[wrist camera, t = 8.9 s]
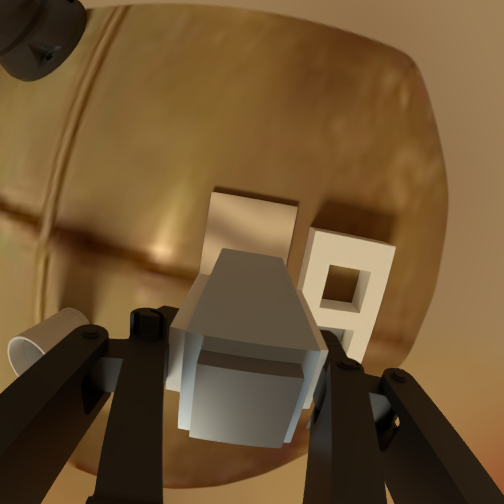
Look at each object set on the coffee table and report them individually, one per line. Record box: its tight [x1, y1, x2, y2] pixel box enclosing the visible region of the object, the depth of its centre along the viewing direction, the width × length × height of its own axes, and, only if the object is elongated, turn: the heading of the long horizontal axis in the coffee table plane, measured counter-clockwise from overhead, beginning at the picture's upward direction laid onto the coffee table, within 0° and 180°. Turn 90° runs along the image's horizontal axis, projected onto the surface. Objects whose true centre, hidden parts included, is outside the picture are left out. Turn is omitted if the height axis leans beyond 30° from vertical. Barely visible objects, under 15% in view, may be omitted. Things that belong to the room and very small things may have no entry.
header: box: [297, 227, 396, 364], centre depth 38 cm, size 18×10×4 cm, turn 170°
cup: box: [8, 307, 90, 377], centre depth 34 cm, size 8×8×12 cm
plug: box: [178, 248, 321, 448], centre depth 15 cm, size 4×4×13 cm
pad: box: [199, 192, 298, 275], centre depth 37 cm, size 10×10×1 cm
